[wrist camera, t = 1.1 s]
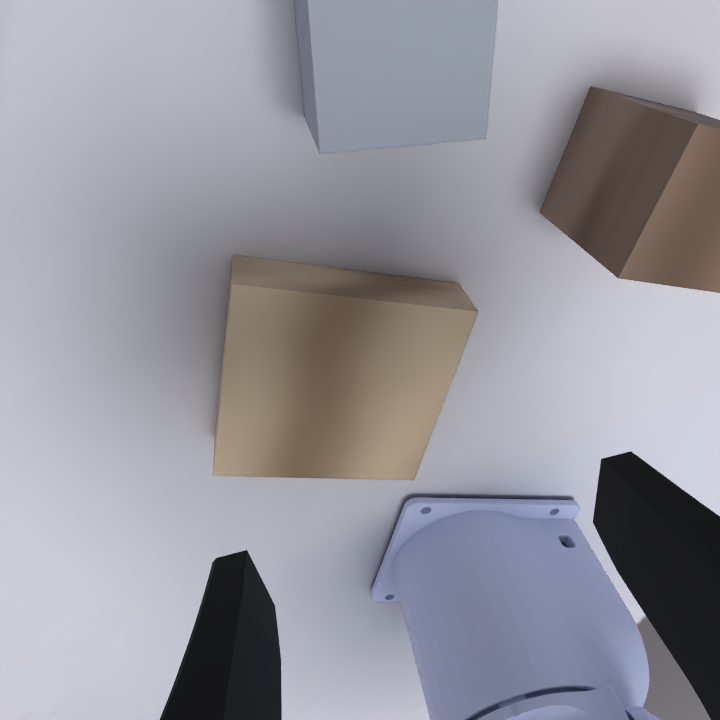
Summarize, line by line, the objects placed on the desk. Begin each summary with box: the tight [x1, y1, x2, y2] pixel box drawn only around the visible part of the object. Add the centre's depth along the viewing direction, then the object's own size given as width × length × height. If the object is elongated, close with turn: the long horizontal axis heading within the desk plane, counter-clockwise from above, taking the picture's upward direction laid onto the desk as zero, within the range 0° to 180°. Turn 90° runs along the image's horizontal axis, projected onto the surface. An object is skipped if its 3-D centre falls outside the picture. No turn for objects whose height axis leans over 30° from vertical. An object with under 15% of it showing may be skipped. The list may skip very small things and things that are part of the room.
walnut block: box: [540, 87, 720, 293], centre depth 17 cm, size 4×4×5 cm
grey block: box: [294, 0, 498, 154], centre depth 13 cm, size 4×4×4 cm
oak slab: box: [213, 255, 478, 480], centre depth 21 cm, size 8×8×2 cm
